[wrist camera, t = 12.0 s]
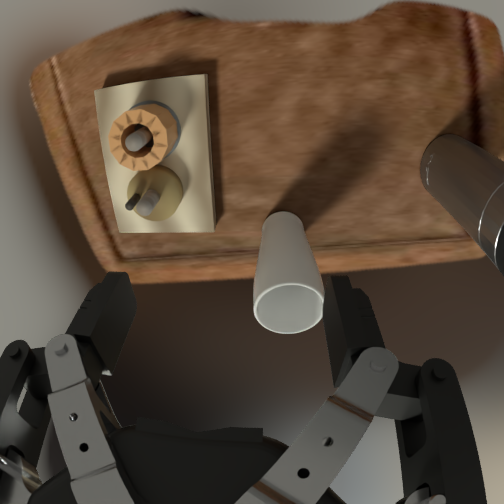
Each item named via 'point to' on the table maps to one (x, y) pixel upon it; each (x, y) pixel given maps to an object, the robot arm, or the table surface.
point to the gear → (157, 123)
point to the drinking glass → (286, 277)
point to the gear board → (171, 167)
